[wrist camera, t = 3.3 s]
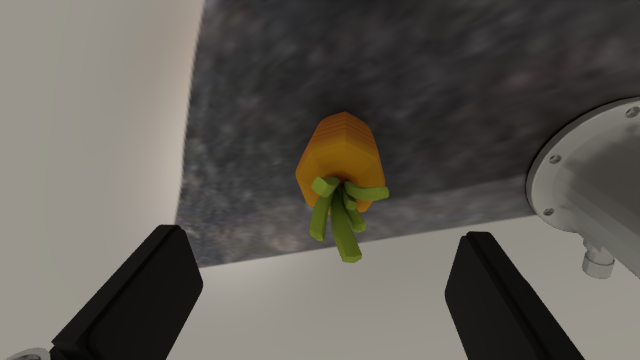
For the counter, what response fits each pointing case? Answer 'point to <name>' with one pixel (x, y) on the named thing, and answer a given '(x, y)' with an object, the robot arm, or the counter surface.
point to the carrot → (341, 179)
